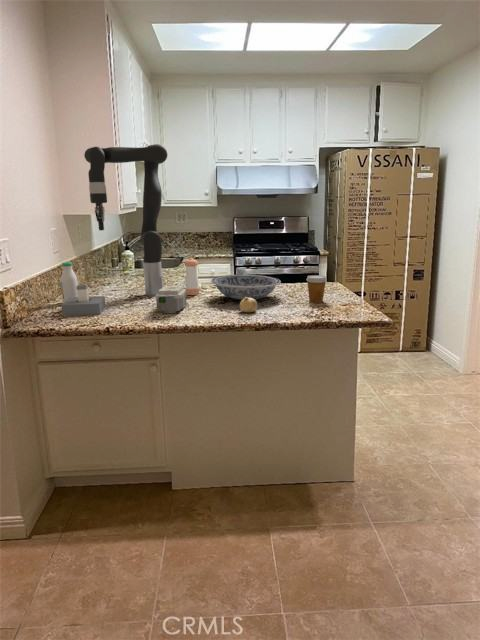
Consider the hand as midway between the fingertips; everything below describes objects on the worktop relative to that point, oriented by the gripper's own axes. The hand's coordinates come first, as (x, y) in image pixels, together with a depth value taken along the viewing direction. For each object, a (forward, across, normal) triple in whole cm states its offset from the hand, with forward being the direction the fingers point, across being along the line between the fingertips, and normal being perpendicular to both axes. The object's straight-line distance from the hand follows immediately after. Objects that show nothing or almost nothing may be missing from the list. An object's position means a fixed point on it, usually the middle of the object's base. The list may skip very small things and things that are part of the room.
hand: (101, 230), depth 218 cm
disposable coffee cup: (+35, -21, -100) cm, 108 cm away
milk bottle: (+35, +2, +18) cm, 40 cm away
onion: (+35, -35, -65) cm, 82 cm away
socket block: (+35, -18, +8) cm, 40 cm away
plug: (+35, -18, +8) cm, 40 cm away
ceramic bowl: (+35, -8, -68) cm, 77 cm away
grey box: (+35, -22, -32) cm, 52 cm away
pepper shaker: (+35, +9, -42) cm, 56 cm away
